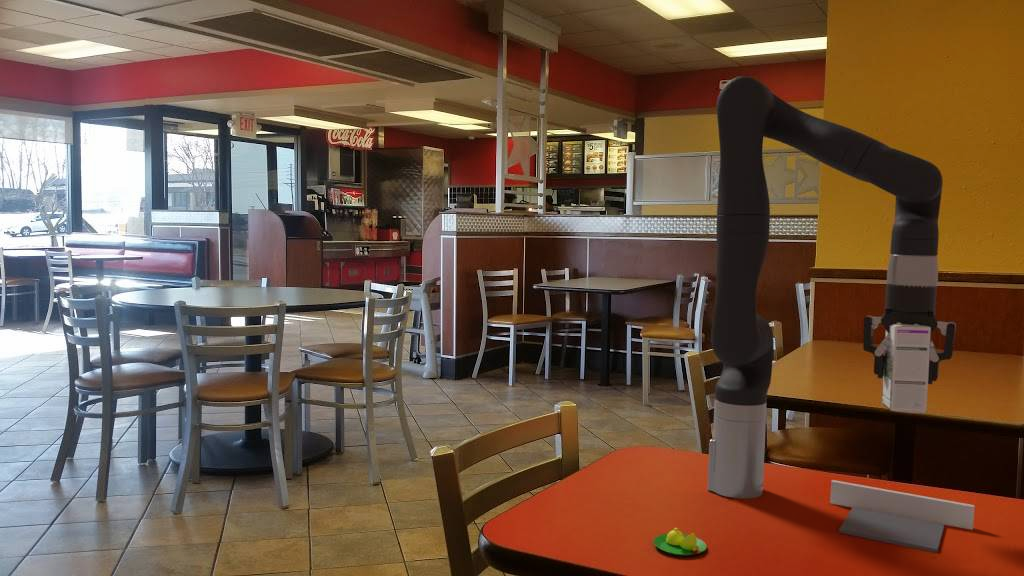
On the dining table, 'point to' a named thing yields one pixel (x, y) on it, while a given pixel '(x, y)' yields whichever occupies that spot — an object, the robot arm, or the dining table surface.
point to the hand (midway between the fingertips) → (905, 380)
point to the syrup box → (906, 368)
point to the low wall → (902, 504)
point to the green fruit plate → (679, 543)
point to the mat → (893, 529)
